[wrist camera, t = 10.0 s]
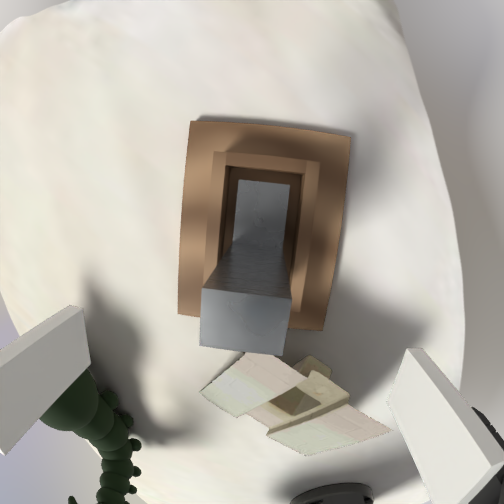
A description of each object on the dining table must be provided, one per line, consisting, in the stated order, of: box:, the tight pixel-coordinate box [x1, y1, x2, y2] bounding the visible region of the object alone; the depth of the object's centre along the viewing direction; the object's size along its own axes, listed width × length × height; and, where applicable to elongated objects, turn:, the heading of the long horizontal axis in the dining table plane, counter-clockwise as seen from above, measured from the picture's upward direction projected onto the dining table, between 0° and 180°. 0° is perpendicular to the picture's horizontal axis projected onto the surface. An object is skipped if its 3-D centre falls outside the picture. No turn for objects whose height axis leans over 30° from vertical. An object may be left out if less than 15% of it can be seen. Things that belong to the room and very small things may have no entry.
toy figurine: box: [39, 367, 141, 504], centre depth 24 cm, size 9×19×25 cm
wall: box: [199, 352, 393, 456], centre depth 27 cm, size 16×9×15 cm
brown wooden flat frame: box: [178, 121, 351, 331], centre depth 24 cm, size 18×14×4 cm
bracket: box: [199, 180, 292, 356], centre depth 19 cm, size 8×4×13 cm, turn 174°
